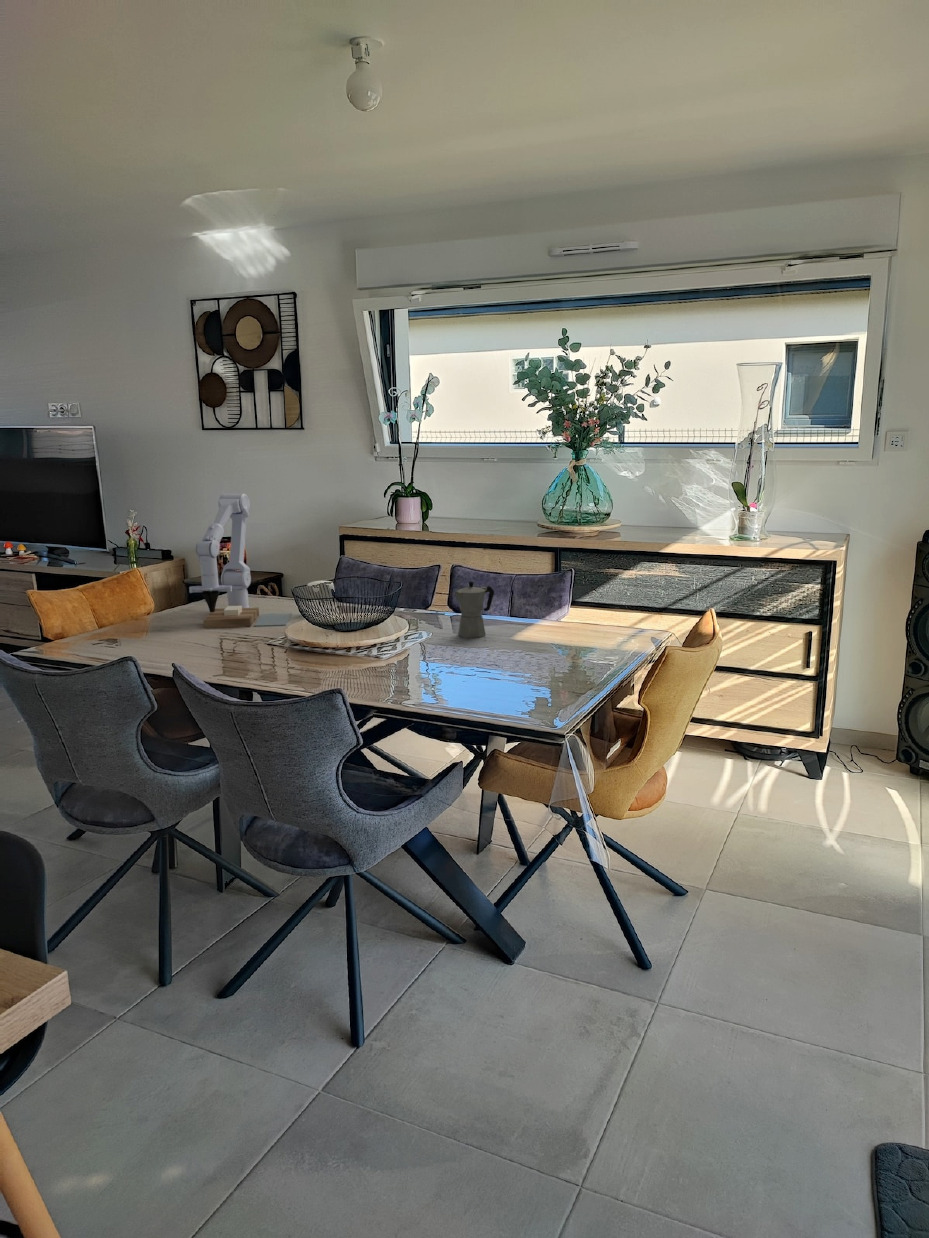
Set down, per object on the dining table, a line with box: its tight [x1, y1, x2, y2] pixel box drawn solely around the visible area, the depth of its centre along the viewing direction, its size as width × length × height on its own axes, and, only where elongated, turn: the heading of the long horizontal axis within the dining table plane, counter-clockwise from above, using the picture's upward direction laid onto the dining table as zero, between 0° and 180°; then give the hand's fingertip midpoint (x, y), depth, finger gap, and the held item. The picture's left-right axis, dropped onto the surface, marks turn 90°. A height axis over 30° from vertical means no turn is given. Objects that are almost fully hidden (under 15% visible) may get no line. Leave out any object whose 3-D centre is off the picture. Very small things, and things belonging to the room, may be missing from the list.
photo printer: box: [306, 580, 335, 592], centre depth 323 cm, size 10×4×12 cm, turn 109°
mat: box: [253, 612, 293, 627], centre depth 315 cm, size 18×11×1 cm, turn 4°
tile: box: [224, 605, 242, 616], centre depth 313 cm, size 7×5×2 cm
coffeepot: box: [453, 580, 495, 639], centre depth 288 cm, size 15×9×18 cm, turn 121°
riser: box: [203, 606, 260, 629], centre depth 314 cm, size 18×16×3 cm
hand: (212, 611), depth 313 cm, fingers closed
